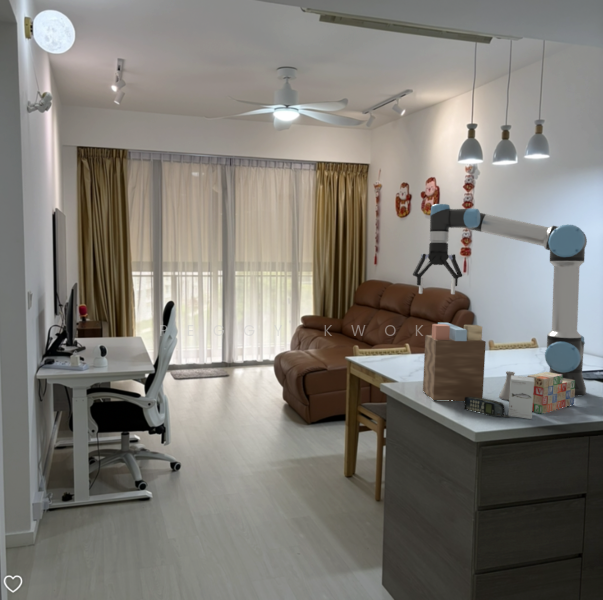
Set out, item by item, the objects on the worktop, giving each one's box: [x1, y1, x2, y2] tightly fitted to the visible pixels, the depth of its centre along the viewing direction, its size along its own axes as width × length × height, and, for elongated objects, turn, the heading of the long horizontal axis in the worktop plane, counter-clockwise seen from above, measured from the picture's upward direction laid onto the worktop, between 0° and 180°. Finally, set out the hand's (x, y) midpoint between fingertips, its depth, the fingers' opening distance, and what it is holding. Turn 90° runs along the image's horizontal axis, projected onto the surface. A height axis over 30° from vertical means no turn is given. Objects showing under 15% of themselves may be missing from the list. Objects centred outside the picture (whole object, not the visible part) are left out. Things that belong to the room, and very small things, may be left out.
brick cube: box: [431, 323, 450, 340], centre depth 206 cm, size 5×5×5 cm
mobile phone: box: [463, 397, 510, 418], centre depth 188 cm, size 5×3×15 cm
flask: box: [498, 370, 516, 401], centre depth 209 cm, size 7×7×10 cm
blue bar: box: [437, 322, 467, 341], centre depth 212 cm, size 22×4×4 cm, turn 3°
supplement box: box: [507, 375, 534, 420], centre depth 187 cm, size 7×7×13 cm
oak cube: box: [463, 324, 483, 340], centre depth 206 cm, size 5×5×5 cm
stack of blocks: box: [526, 371, 576, 414], centre depth 198 cm, size 21×6×12 cm, turn 127°
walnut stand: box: [422, 334, 486, 402], centre depth 209 cm, size 14×18×22 cm
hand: (436, 293), depth 233 cm, fingers open, 13 cm apart
